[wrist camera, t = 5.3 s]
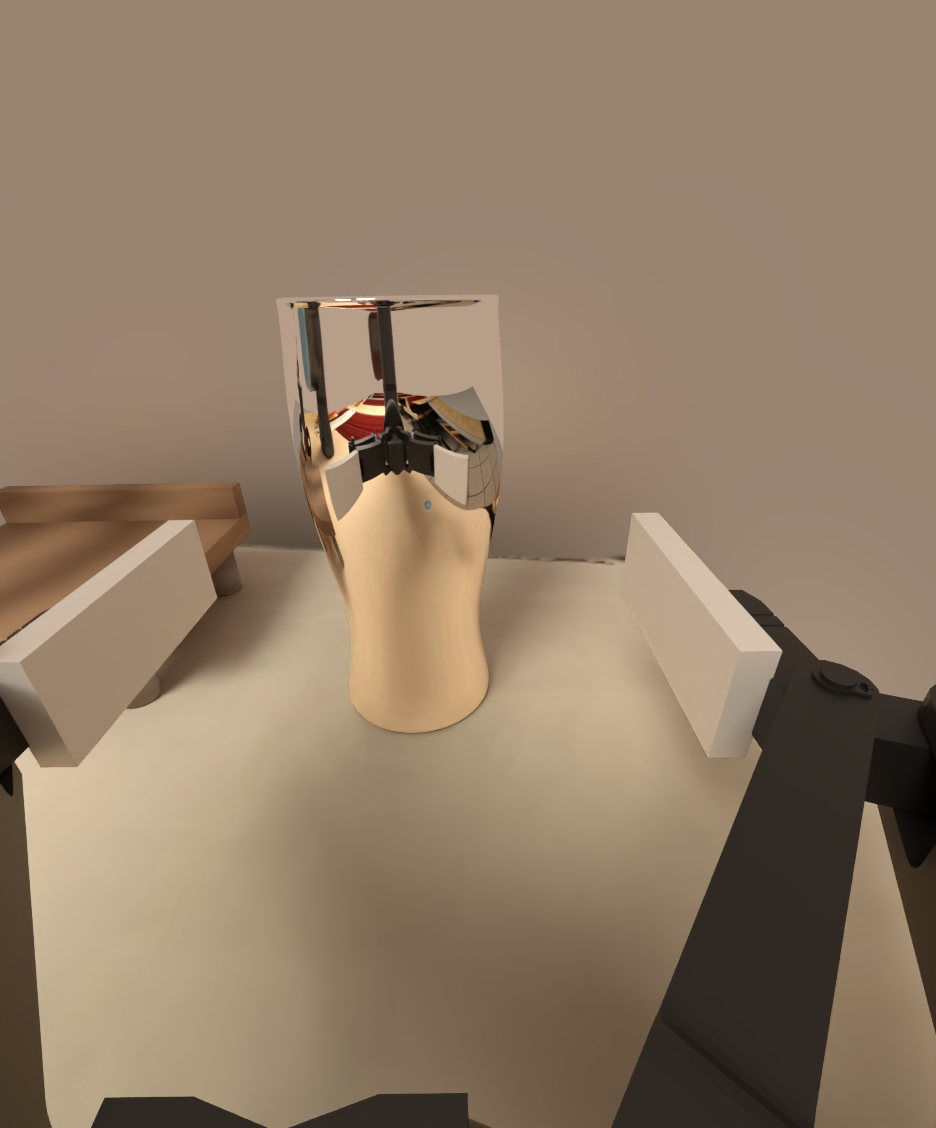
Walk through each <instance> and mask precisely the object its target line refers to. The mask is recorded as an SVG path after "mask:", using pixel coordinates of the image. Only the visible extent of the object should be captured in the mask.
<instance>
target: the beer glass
mask: <svg viewBox="0 0 936 1128" xmlns="http://www.w3.org/2000/svg"><path fill="white" fill-rule="evenodd" d="M498 301H499V297H498V296H497V295H412V296H354V297H353V296H351V297H303V298H279V299H277V300H276V304H277V307H278V314H279V322H280V331H281V340H282V353H283V364H284V374H285V384H286V392H287V393H286V394H287V403H288V411H289V417H290V424H291V431H292V438H293V444H294V449H295V453H296V458H297V463H298V468H299V473H300V477H301V481H302V486H303V489H304V493H305V496H306V499H307V502H308V505H309V509H310V512H311V515H312V518H313V521H314V524H315V527H316V530H317V532H318V535H319V538H320V541H321V543H322V546H323V549H324V552H325V554H326V557H327V560H328V562H329V565H330V567H331V570H332V573H333V575H334V578H335V581H336V583H337V586H338V589H339V592H340V595H341V598H342V600H343V603H344V606H345V609H346V614H347V618H348V623H349V627H350V637H351V662H350V675H349V693H350V698H351V701H352V703H353V705H354V707H355V708H356V710H357V711H358V712H359V714H360V715H361V716H362V717H364V718H365V719H366V720H368V721H369V722H371V723H372V724H374V725H376V726H379V727H381V728H384V729H387V730H391V731H396V732H404V733H421V732H429V731H434V730H438V729H442V728H445V727H448V726H450V725H453V724H455V723H457V722H459V721H460V720H462V719H464V718H465V717H467V716H468V715H469V714H471V713H472V712H473V711H474V710H475V709H476V708H477V707H478V706H479V704H480V703H481V702H482V700H483V698H484V696H485V694H486V692H487V688H488V683H489V672H488V666H487V661H486V656H485V652H484V648H483V643H482V639H481V632H480V622H479V608H480V595H481V589H482V583H483V577H484V572H485V567H486V562H487V557H488V551H489V547H490V542H491V537H492V532H493V526H494V520H495V516H496V510H497V503H498V496H499V489H500V482H501V475H502V456H503V455H502V454H503V436H504V435H503V434H504V430H503V386H502V385H503V384H502V366H501V350H500V336H499V320H498V319H499V318H498Z"/></svg>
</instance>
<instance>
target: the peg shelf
mask: <svg viewBox="0 0 936 1128" xmlns="http://www.w3.org/2000/svg"><path fill="white" fill-rule="evenodd" d="M0 510H1V512H2V514H3V516H4V518H5V520H6V524H4V525H2V526H0V642H2V641H3V640H7V637H8V636H10V635H11V634H12V633H14V632H15V631H16V630H18V629H22V626H23V625H25V624H26V623H27V622H29V621H30V620H31V619H33V618H34V617H35V616H37V615H38V614H39V613H41V612H43V611H45V610H48V609H50V608H52V607H53V606H55V605H56V604H57V603H59V602H60V601H61V600H63V599H64V598H65V597H67V596H68V595H69V594H71V593H72V592H73V591H75V590H76V589H77V588H79V587H80V586H81V585H83V584H84V583H85V582H87V581H88V580H89V579H91V578H92V577H93V576H95V575H96V574H97V573H99V572H100V571H101V570H103V569H104V568H106V567H107V566H108V565H110V564H111V563H112V562H114V561H115V560H116V559H118V558H119V557H120V556H122V555H123V554H124V553H126V552H127V551H128V550H130V549H131V548H132V547H134V546H135V545H136V544H138V543H139V542H140V541H142V540H143V539H144V538H146V537H147V536H148V535H150V534H151V533H152V532H154V531H155V530H156V529H158V528H159V527H160V526H162V525H163V524H164V523H166V522H167V521H168V520H195V524H196V527H197V531H198V534H199V537H200V541H201V544H202V548H203V551H204V554H205V558H206V561H207V565H208V568H209V571H210V575H211V578H212V581H213V585H214V588H215V592H216V595H228V594H232V593H234V592H236V591H238V590H239V589H240V588H241V587H242V584H241V580H240V577H239V573H238V569H237V565H236V562H235V558H234V554H233V550H234V549H235V548H236V547H237V546H238V545H239V544H240V542H241V541H242V540H243V539H244V538H245V537H246V536H247V535H248V534H249V533H250V532H251V529H250V525H249V521H248V517H247V512H246V508H245V504H244V500H243V496H242V492H241V487H240V483H239V482H228V483H227V482H224V483H171V484H117V485H62V486H14V487H13V486H9V487H5V488H2V489H0ZM161 691H162V686H161V684H160V681H159V679H158V676H157V674H156V673H155V674H154V675H153V676H152V678H151V679H150V680H149V681H148V682H147V684H146V685H145V686H144V687H143V688H142V690H141V691H140V692H139V693H138V694H137V696H136V697H135V698H134V699H133V700H132V702H131V703H130V704H129V705H128V706H127V708H128V709H131V708H138V707H141V706H144V705H146V704H148V703H150V702H152V701H153V700H155V699H156V698H157V697H158V696H159V695H160V693H161Z"/></svg>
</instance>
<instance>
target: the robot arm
mask: <svg viewBox="0 0 936 1128" xmlns="http://www.w3.org/2000/svg"><path fill="white" fill-rule="evenodd" d="M620 592H621V594H622V596H623V598H624V600H625V602H626V603H627V605H628V607H629V609H630V611H631V613H632V615H633V617H634V619H635V620H636V622H637V624H638V626H639V628H640V630H641V632H642V634H643V636H644V637H645V639H646V641H647V643H648V645H649V647H650V649H651V651H652V653H653V654H654V656H655V658H656V660H657V662H658V664H659V666H660V668H661V670H662V671H663V673H664V675H665V677H666V679H667V681H668V683H669V685H670V687H671V688H672V690H673V692H674V694H675V696H676V698H677V700H678V702H679V704H680V705H681V707H682V709H683V711H684V713H685V715H686V717H687V719H688V720H689V722H690V724H691V726H692V728H693V730H694V732H695V734H696V736H697V737H698V739H699V741H700V743H701V745H702V747H703V749H704V751H705V753H706V754H707V756H708V758H731V757H745V756H746V754H747V751H748V748H749V745H750V742H751V739H752V737H754V738H755V740H756V741H757V743H758V744H759V746H760V747H761V749H762V753H761V755H760V758H759V760H758V763H757V765H756V768H755V770H754V773H753V775H752V778H751V780H750V783H749V785H748V788H747V790H746V793H745V795H744V798H743V800H742V803H741V805H740V808H739V811H738V813H737V816H736V818H735V821H734V823H733V826H732V828H731V831H730V833H729V836H728V838H727V841H726V843H725V846H724V848H723V851H722V853H721V856H720V858H719V861H718V863H717V866H716V868H715V871H714V874H713V876H712V879H711V881H710V884H709V886H708V889H707V891H706V894H705V896H704V899H703V901H702V904H701V906H700V909H699V911H698V914H697V916H696V919H695V921H694V924H693V926H692V929H691V931H690V934H689V936H688V939H687V942H686V944H685V947H684V949H683V952H682V954H681V957H680V959H679V962H678V964H677V967H676V969H675V972H674V974H673V977H672V979H671V982H670V984H669V987H668V989H667V992H666V994H665V997H664V999H663V1002H662V1004H661V1007H660V1009H659V1012H658V1014H657V1016H656V1018H655V1020H654V1022H653V1025H652V1027H651V1030H650V1032H649V1035H648V1037H647V1040H646V1042H645V1045H644V1047H643V1049H642V1052H641V1054H640V1057H639V1059H638V1062H637V1065H636V1067H635V1070H634V1072H633V1075H632V1077H631V1080H630V1082H629V1085H628V1087H627V1090H626V1092H625V1095H624V1097H623V1100H622V1102H621V1105H620V1107H619V1110H618V1112H617V1115H616V1117H615V1120H614V1122H613V1125H612V1127H611V1128H814V1123H815V1113H816V1106H817V1100H818V1093H819V1087H820V1081H821V1074H822V1068H823V1062H824V1055H825V1049H826V1043H827V1036H828V1030H829V1023H830V1017H831V1011H832V1004H833V998H834V992H835V985H836V979H837V973H838V966H839V960H840V954H841V947H842V941H843V934H844V928H845V922H846V915H847V909H848V903H849V896H850V890H851V884H852V877H853V871H854V865H855V858H856V852H857V846H858V839H859V833H860V826H861V820H862V814H863V807H864V801H866V802H870V803H874V804H877V805H878V809H879V813H880V817H881V821H882V825H883V829H884V832H885V836H886V840H887V844H888V848H889V852H890V856H891V860H892V864H893V868H894V872H895V876H896V880H897V883H898V887H899V891H900V895H901V899H902V903H903V907H904V911H905V915H906V919H907V923H908V927H909V931H910V935H911V938H912V942H913V946H914V950H915V954H916V958H917V962H918V966H919V970H920V974H921V978H922V982H923V986H924V990H925V993H926V997H927V1001H928V1005H929V1009H930V1013H931V1017H932V1021H933V1025H934V1029H935V1033H936V685H934V686H933V687H932V688H930V690H929V692H928V693H927V695H926V697H925V699H924V701H923V702H922V701H917V700H912V699H906V698H901V697H896V696H891V695H885V694H881V693H879V690H878V689H877V687H876V686H875V685H874V684H873V683H872V682H871V681H870V680H869V679H868V678H866V677H865V676H863V675H862V674H860V673H859V672H857V671H855V670H853V669H850V668H848V667H846V666H844V665H841V664H837V663H834V662H829V661H826V660H818V659H817V658H816V657H815V656H814V654H812V653H811V651H810V650H809V649H808V648H807V647H806V646H805V645H804V644H803V643H802V642H801V641H800V640H799V639H798V638H797V637H796V636H795V635H794V634H793V633H792V632H791V631H790V630H789V629H788V628H787V627H784V624H783V623H782V622H781V621H780V620H779V619H778V618H777V617H776V616H775V617H774V614H773V613H772V612H771V611H770V610H769V609H768V608H767V606H766V605H765V604H764V603H762V601H760V600H758V599H757V598H755V597H753V596H752V595H750V594H748V593H746V592H745V591H743V590H727V589H726V588H725V586H723V584H722V583H721V582H720V581H719V580H718V579H717V578H716V576H715V575H714V574H713V573H712V572H711V571H710V570H709V569H708V568H707V567H706V565H705V564H704V563H703V562H702V561H701V560H700V559H699V558H698V557H697V555H696V554H695V553H694V552H693V551H692V550H691V549H690V548H689V547H688V545H687V544H686V543H685V542H684V541H683V540H682V539H681V538H680V537H679V535H678V534H677V533H676V532H675V531H674V530H673V529H672V528H671V527H670V525H669V524H668V523H667V522H666V521H665V520H664V519H663V518H662V517H661V515H660V514H659V513H632V518H631V525H630V532H629V538H628V545H627V552H626V558H625V565H624V571H623V578H622V585H621V591H620ZM216 599H217V595H216V592H215V588H214V585H213V581H212V578H211V575H210V571H209V568H208V565H207V561H206V558H205V554H204V551H203V548H202V544H201V541H200V537H199V534H198V531H197V527H196V524H195V520H168V521H167V522H166V523H164V524H163V525H162V526H160V527H159V528H158V529H156V530H155V531H154V532H152V533H151V534H150V535H148V536H147V537H146V538H144V539H143V540H142V541H140V542H139V543H138V544H136V545H135V546H134V547H132V548H131V549H130V550H128V551H127V552H126V553H124V554H123V555H122V556H120V557H119V558H118V559H116V560H115V561H114V562H112V563H111V564H110V565H108V566H107V567H106V568H104V569H103V570H101V571H100V572H99V573H97V574H96V575H95V576H93V577H92V578H91V579H89V580H88V581H87V582H85V583H84V584H83V585H81V586H80V587H79V588H77V589H76V590H75V591H73V592H72V593H71V594H69V595H68V596H67V597H65V598H64V599H63V600H61V601H60V602H59V603H57V604H56V605H55V606H53V607H52V608H50V609H48V610H45V611H43V612H41V613H39V614H38V615H37V616H35V617H34V618H33V619H31V620H30V621H29V622H27V623H26V624H25V625H23V626H22V629H18V630H16V631H15V632H14V633H12V634H11V635H10V636H8V637H7V640H3V641H2V642H0V1128H52V1127H51V1124H50V1121H49V1117H48V1114H47V1108H46V1101H45V1089H44V1075H43V1061H42V1047H41V1034H40V1020H39V1006H38V992H37V978H36V964H35V950H34V936H33V922H32V908H31V894H30V880H29V867H28V853H27V839H26V825H25V811H24V797H23V783H22V774H21V772H20V770H19V768H18V767H17V765H16V764H15V762H14V761H15V760H16V759H17V758H18V757H19V756H20V755H21V754H22V753H23V752H24V751H25V750H26V749H27V748H28V747H29V749H30V750H31V752H32V754H33V755H34V757H35V759H36V760H37V762H38V763H39V765H40V767H78V766H79V764H80V763H81V762H82V761H83V760H84V758H85V757H86V756H87V755H88V754H89V752H90V751H91V750H92V749H93V748H94V746H95V745H96V744H97V743H98V741H99V740H100V739H101V738H102V737H103V735H104V734H105V733H106V732H107V731H108V729H109V728H110V727H111V726H112V725H113V723H114V722H115V721H116V720H117V719H118V717H119V716H120V715H121V714H122V713H123V711H124V710H125V709H126V708H127V706H128V705H129V704H130V703H131V702H132V700H133V699H134V698H135V697H136V696H137V694H138V693H139V692H140V691H141V690H142V688H143V687H144V686H145V685H146V684H147V682H148V681H149V680H150V679H151V678H152V676H153V675H154V674H155V673H156V671H157V670H158V669H159V668H160V667H161V665H162V664H163V663H164V662H165V661H166V659H167V658H168V657H169V656H170V655H171V653H172V652H173V651H174V650H175V649H176V647H177V646H178V645H179V644H180V643H181V641H182V640H183V639H184V638H185V637H186V635H187V634H188V633H189V632H190V630H191V629H192V628H193V627H194V626H195V624H196V623H197V622H198V621H199V620H200V618H201V617H202V616H203V615H204V614H205V612H206V611H207V610H208V609H209V608H210V606H211V605H212V604H213V603H214V602H215V600H216ZM91 1128H267V1127H264V1126H262V1125H260V1124H257V1123H255V1122H253V1121H250V1120H248V1119H245V1118H243V1117H241V1116H238V1115H236V1114H234V1113H231V1112H229V1111H226V1110H224V1109H222V1108H219V1107H217V1106H215V1105H212V1104H210V1103H207V1102H205V1101H203V1100H200V1099H198V1098H196V1097H120V1098H104V1100H103V1102H102V1105H101V1107H100V1109H99V1111H98V1114H97V1116H96V1118H95V1120H94V1122H93V1125H92V1127H91ZM290 1128H491V1127H489V1126H486V1125H484V1124H481V1123H479V1122H476V1121H474V1120H471V1119H469V1120H468V1094H467V1093H441V1094H378V1095H375V1096H373V1097H370V1098H367V1099H365V1100H362V1101H359V1102H357V1103H354V1104H351V1105H349V1106H346V1107H343V1108H341V1109H338V1110H335V1111H333V1112H330V1113H327V1114H325V1115H322V1116H319V1117H317V1118H314V1119H311V1120H309V1121H306V1122H303V1123H301V1124H298V1125H295V1126H293V1127H290Z"/></svg>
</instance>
